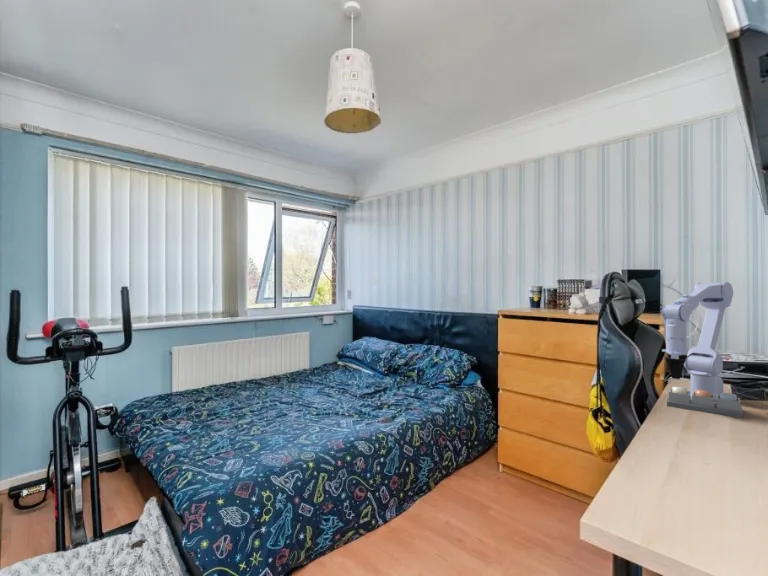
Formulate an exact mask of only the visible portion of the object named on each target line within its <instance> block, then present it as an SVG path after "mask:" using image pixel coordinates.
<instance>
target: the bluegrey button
mask: <svg viewBox="0 0 768 576" xmlns="http://www.w3.org/2000/svg"><path fill="white" fill-rule="evenodd" d="M737 398H738V395H737V394H735V393H728V392H723V393H720V399H724V400H732V401H737Z"/></svg>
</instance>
